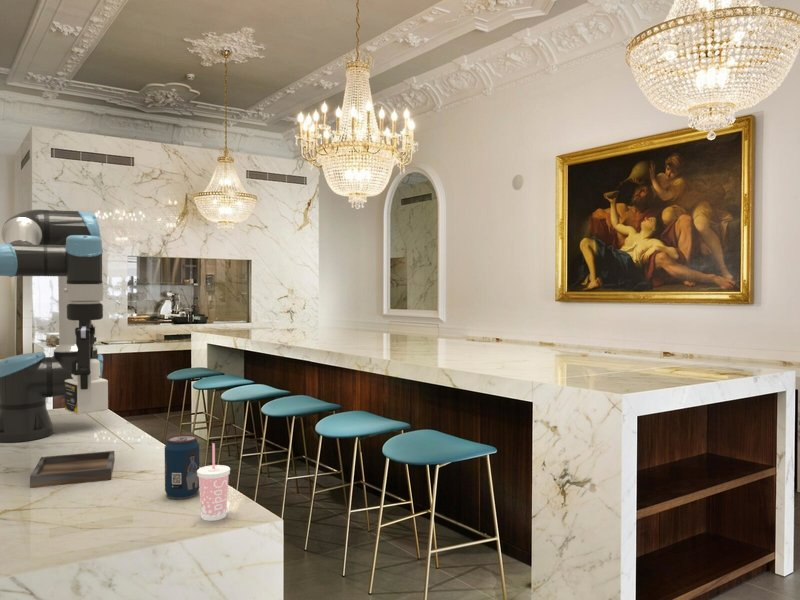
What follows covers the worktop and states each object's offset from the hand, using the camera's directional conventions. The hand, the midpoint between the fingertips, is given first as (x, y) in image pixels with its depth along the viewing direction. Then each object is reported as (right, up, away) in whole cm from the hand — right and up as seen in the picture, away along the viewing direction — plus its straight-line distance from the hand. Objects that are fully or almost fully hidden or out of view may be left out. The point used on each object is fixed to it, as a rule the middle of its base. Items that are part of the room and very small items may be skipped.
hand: (86, 399), depth 151 cm
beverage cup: (+37, -18, -27) cm, 49 cm away
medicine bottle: (0, -3, 0) cm, 3 cm away
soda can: (+27, -18, -14) cm, 36 cm away
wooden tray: (-2, -17, 0) cm, 17 cm away
